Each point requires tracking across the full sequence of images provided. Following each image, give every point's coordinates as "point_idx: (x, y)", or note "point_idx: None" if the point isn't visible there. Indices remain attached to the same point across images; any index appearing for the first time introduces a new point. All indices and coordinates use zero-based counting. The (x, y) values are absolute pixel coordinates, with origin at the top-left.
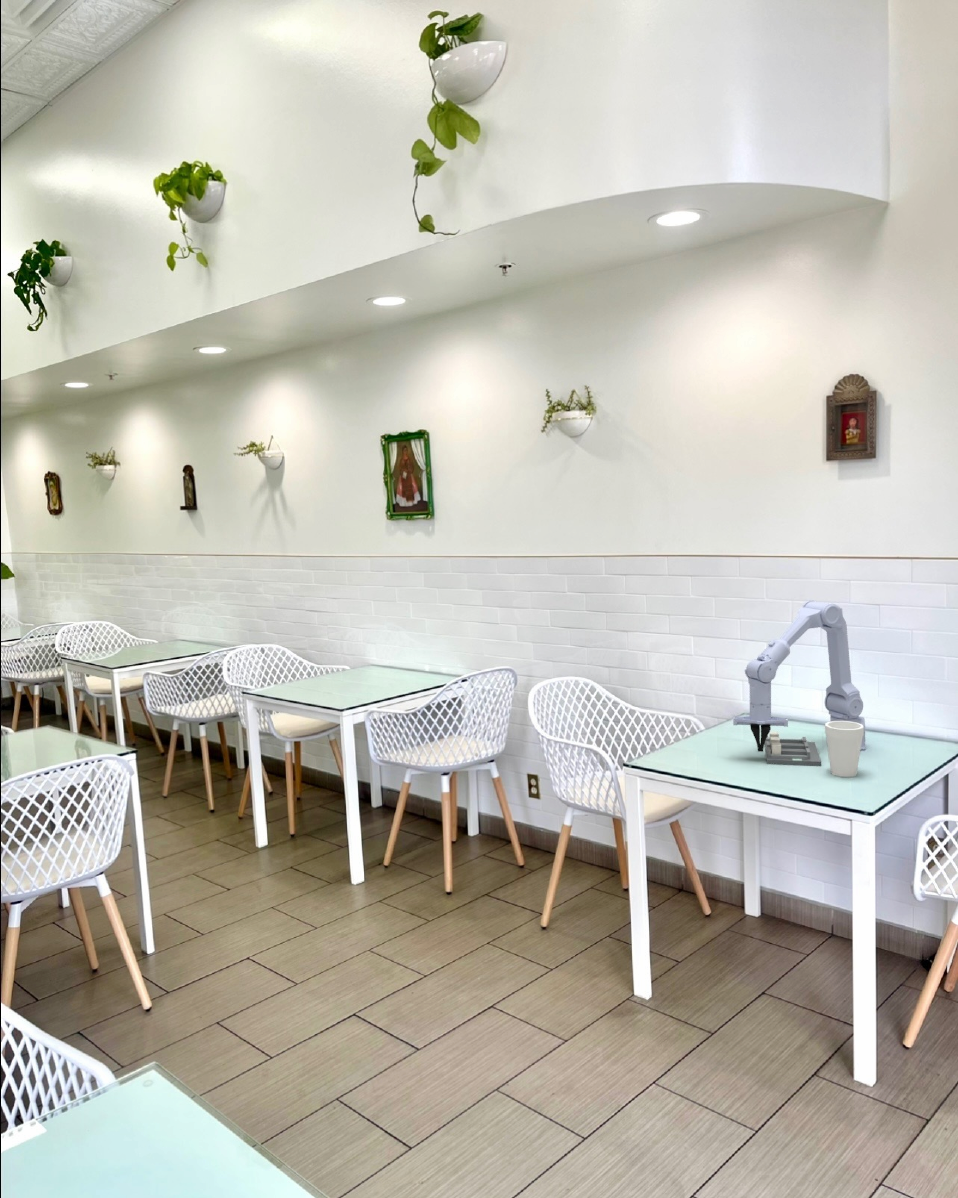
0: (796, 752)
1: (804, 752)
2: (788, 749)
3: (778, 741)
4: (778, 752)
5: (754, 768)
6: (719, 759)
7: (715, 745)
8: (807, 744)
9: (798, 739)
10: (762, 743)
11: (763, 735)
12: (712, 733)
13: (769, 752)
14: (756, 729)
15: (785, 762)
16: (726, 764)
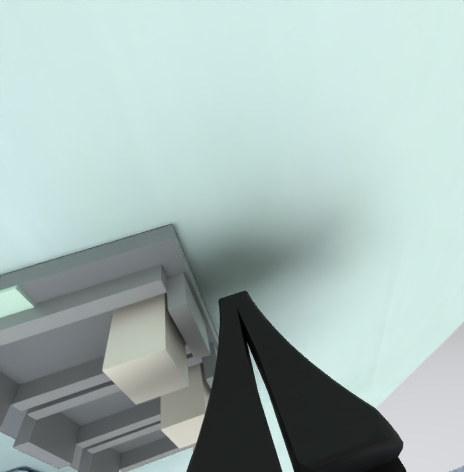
0: (63, 381)
1: (20, 396)
2: (114, 388)
3: (167, 417)
4: (125, 322)
5: (223, 100)
6: (404, 201)
7: (386, 336)
8: (36, 457)
9: (135, 467)
10: (232, 338)
11: (240, 405)
12: (377, 398)
13: (176, 298)
14: (343, 453)
15: (68, 263)
16: (386, 126)
